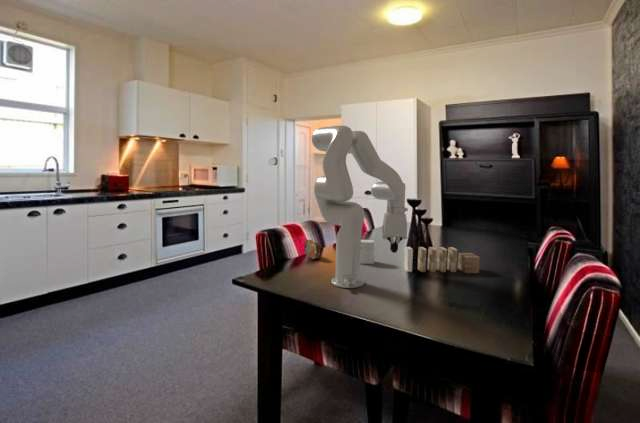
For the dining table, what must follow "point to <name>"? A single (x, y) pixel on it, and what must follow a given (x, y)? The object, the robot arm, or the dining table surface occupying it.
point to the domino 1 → (408, 259)
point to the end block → (468, 262)
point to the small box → (367, 252)
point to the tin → (312, 249)
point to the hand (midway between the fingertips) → (393, 251)
